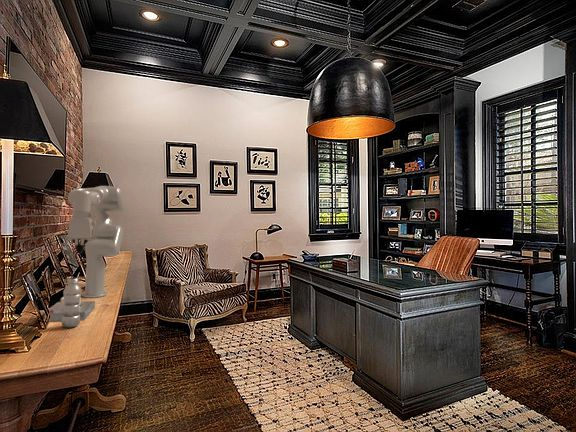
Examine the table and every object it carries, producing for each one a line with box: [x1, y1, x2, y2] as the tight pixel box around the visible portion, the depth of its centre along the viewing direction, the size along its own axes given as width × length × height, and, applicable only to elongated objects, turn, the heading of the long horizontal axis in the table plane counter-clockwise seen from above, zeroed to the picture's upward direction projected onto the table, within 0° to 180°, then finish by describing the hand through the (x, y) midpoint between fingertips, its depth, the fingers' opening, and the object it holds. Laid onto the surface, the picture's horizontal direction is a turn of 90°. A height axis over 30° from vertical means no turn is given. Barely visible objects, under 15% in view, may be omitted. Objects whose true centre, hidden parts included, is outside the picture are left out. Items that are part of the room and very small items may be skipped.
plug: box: [60, 296, 82, 310], centre depth 165 cm, size 11×6×8 cm, turn 17°
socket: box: [48, 300, 96, 322], centre depth 164 cm, size 20×16×4 cm
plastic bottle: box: [60, 277, 83, 328], centre depth 147 cm, size 6×7×20 cm
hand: (79, 253), depth 174 cm, fingers closed
